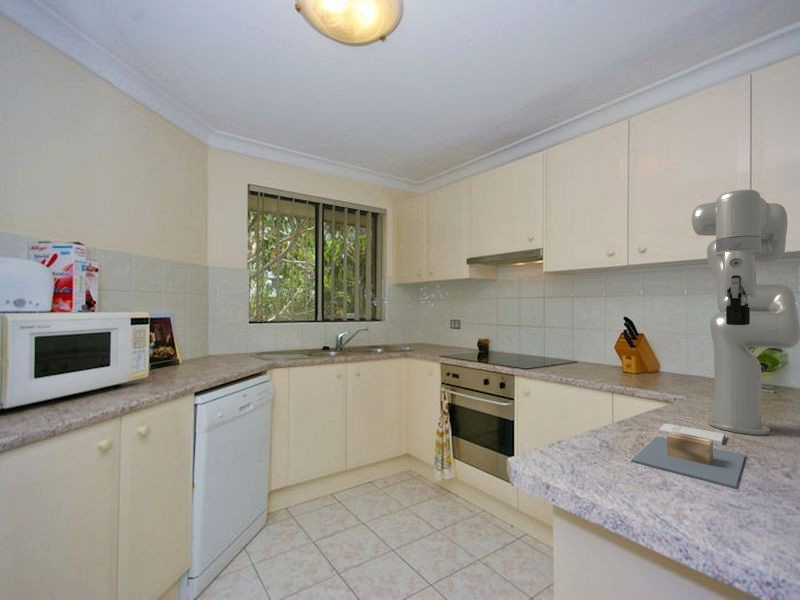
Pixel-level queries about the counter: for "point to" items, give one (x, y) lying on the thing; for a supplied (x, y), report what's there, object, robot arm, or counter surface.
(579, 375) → the counter surface
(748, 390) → the robot arm
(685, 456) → the taped cardboard box
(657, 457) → the mat
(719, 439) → the external hard drive
